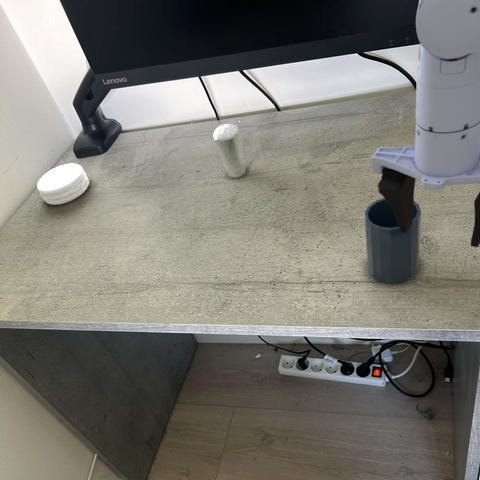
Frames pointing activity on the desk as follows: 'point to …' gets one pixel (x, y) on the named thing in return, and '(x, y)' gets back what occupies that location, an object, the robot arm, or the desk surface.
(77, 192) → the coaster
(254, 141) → the desk surface
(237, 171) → the milkshake
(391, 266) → the tumbler
